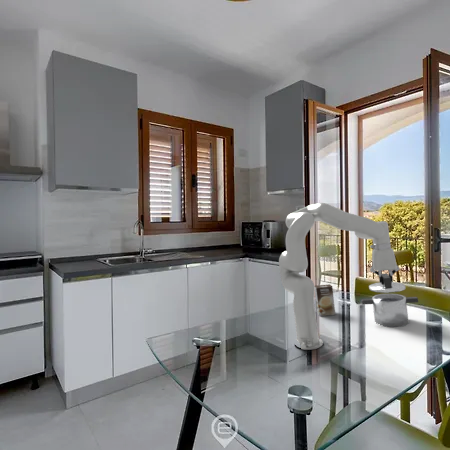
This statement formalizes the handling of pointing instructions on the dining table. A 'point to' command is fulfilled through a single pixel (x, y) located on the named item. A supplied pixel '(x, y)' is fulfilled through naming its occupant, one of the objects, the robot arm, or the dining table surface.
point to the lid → (387, 285)
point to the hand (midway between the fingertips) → (386, 283)
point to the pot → (390, 309)
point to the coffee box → (324, 300)
